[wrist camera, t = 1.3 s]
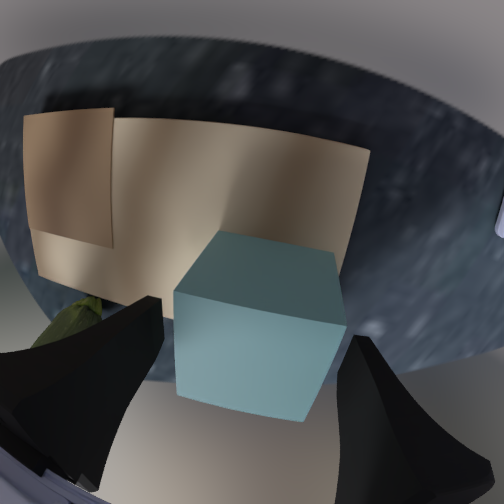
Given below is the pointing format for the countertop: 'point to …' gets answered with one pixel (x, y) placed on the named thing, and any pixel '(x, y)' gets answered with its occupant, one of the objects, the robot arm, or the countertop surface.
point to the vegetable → (72, 320)
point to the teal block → (257, 325)
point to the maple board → (175, 196)
